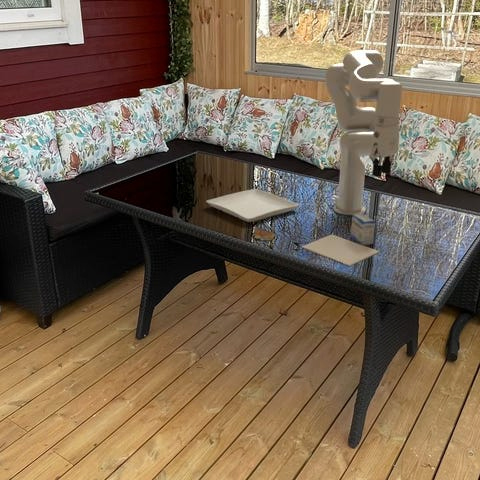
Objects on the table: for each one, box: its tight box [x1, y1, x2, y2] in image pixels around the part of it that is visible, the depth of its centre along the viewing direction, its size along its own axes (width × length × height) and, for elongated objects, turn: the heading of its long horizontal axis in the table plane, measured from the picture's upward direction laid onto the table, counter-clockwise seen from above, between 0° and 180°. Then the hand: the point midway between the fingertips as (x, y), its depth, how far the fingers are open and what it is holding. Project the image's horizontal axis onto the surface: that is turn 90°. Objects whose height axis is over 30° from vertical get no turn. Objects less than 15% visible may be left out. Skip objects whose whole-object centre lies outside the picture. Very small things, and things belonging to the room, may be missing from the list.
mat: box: [301, 234, 380, 267], centre depth 184 cm, size 20×16×1 cm
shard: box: [253, 225, 277, 241], centre depth 196 cm, size 11×8×2 cm
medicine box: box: [350, 213, 376, 246], centre depth 189 cm, size 8×4×9 cm, turn 21°
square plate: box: [205, 188, 300, 223], centre depth 220 cm, size 27×27×4 cm
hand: (381, 174), depth 187 cm, fingers open, 4 cm apart
